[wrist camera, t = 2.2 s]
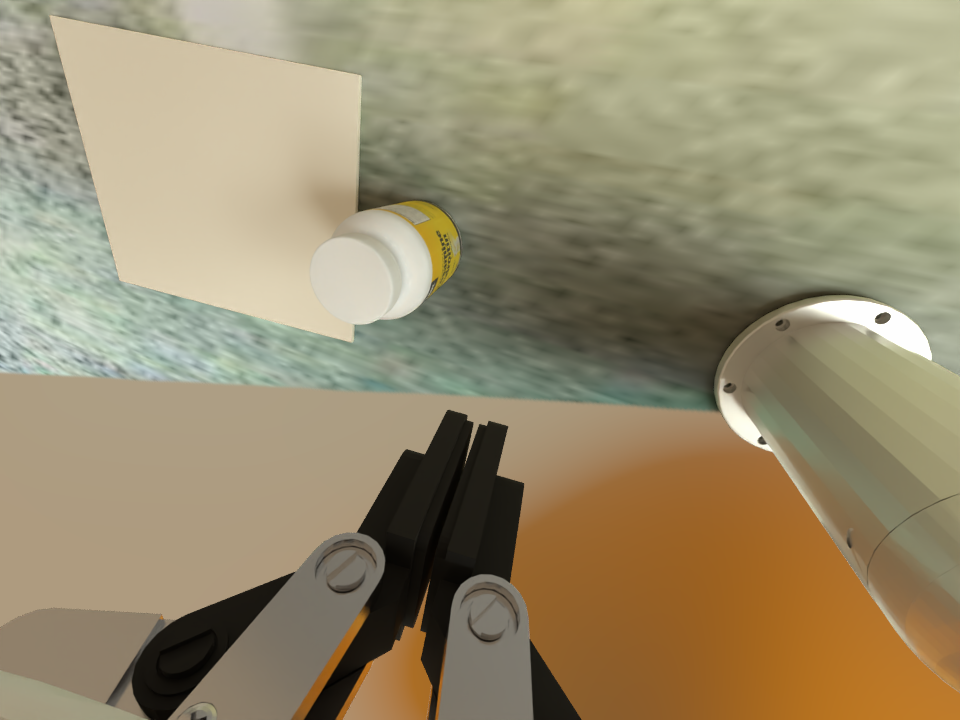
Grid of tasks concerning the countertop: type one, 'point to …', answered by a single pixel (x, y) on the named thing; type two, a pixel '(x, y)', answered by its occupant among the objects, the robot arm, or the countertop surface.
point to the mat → (215, 167)
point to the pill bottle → (385, 261)
